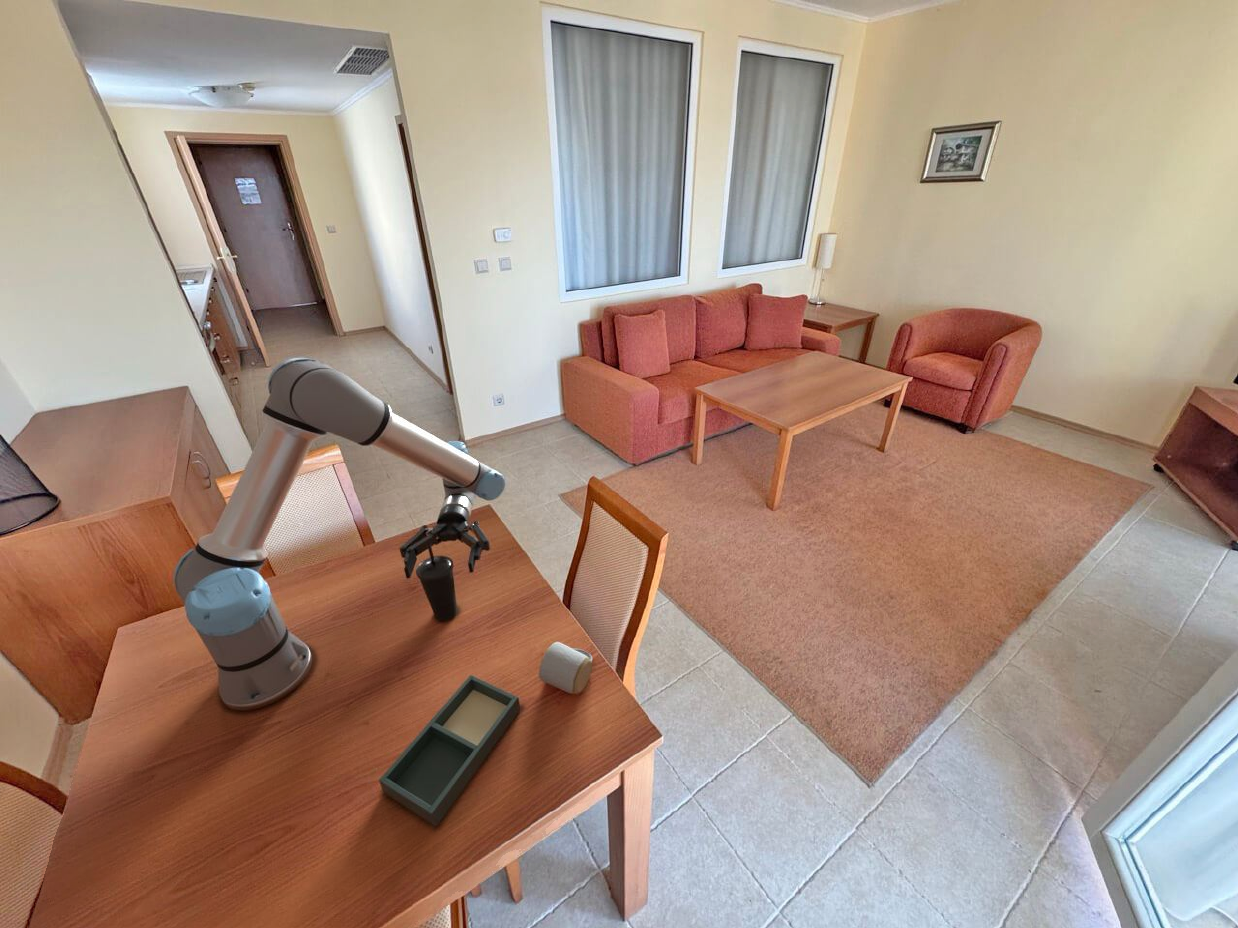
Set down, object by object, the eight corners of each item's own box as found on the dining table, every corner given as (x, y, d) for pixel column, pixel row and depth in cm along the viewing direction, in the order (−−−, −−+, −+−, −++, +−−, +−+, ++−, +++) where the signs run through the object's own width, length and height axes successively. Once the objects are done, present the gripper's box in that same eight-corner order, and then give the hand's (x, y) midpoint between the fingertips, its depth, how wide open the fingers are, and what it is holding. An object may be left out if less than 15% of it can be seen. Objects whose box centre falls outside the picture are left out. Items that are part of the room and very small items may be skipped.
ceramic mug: (576, 704, 92) (574, 676, 88) (539, 688, 95) (536, 661, 92) (602, 662, 101) (601, 635, 97) (567, 648, 104) (565, 622, 100)
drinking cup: (428, 605, 115) (410, 536, 105) (462, 598, 117) (447, 529, 107) (428, 629, 108) (408, 558, 99) (464, 621, 110) (448, 550, 101)
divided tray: (383, 792, 79) (378, 780, 77) (473, 686, 96) (470, 674, 94) (436, 826, 75) (431, 813, 73) (520, 709, 92) (518, 696, 90)
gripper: (505, 523, 131) (498, 578, 112) (407, 531, 128) (384, 588, 110) (502, 500, 127) (494, 552, 109) (401, 507, 125) (375, 562, 106)
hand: (439, 570), depth 109 cm, fingers open, 13 cm apart
